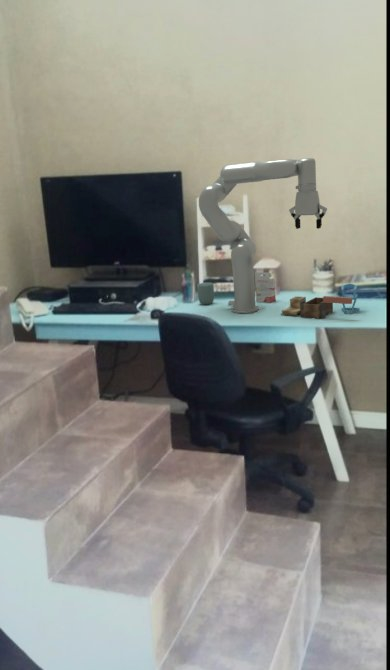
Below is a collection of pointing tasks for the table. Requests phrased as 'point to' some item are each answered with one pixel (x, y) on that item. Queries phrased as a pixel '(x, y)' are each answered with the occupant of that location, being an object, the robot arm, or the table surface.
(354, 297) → the chair
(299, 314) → the mat
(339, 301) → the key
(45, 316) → the table surface
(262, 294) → the ink cartridge box
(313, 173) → the robot arm
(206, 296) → the cup
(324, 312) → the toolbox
